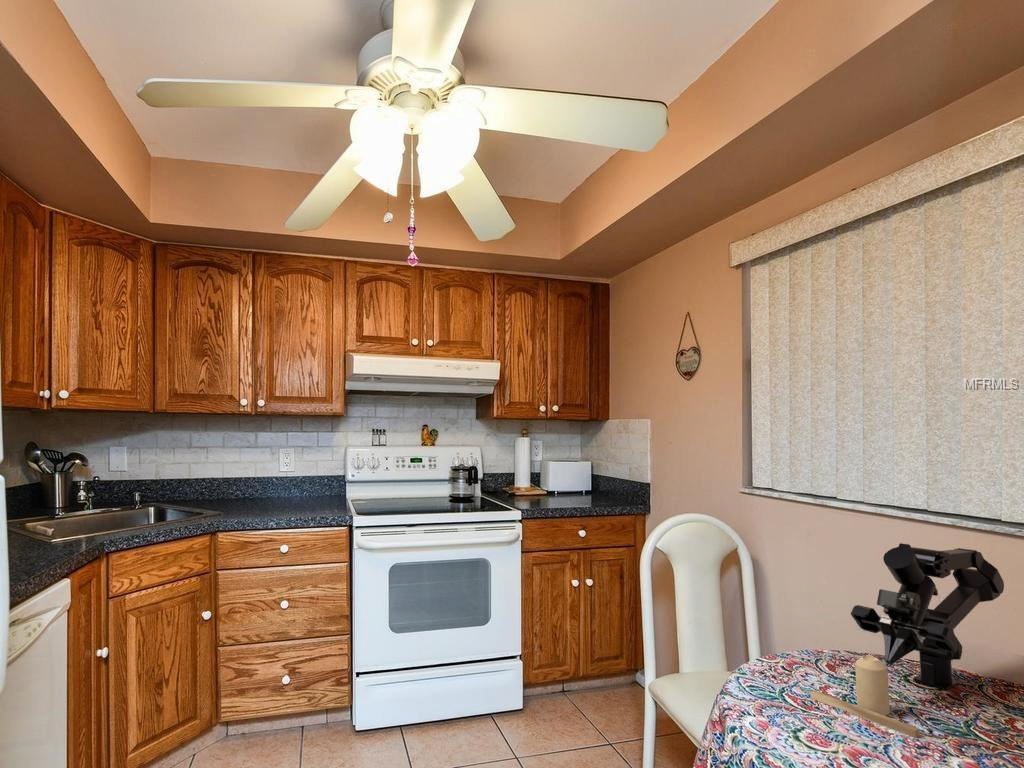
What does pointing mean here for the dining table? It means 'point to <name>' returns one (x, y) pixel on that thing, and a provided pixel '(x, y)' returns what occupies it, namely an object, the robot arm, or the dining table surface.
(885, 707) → the candle
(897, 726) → the oak strip
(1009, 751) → the dining table surface
